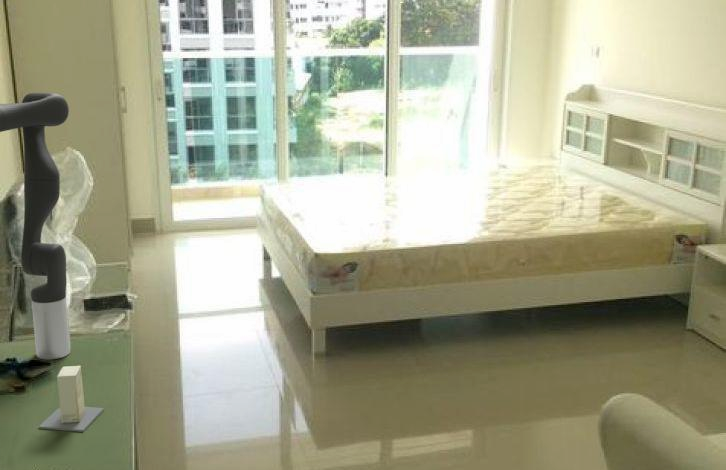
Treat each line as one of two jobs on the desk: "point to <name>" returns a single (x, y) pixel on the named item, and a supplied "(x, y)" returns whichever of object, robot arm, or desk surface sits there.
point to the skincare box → (71, 394)
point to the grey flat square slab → (81, 426)
